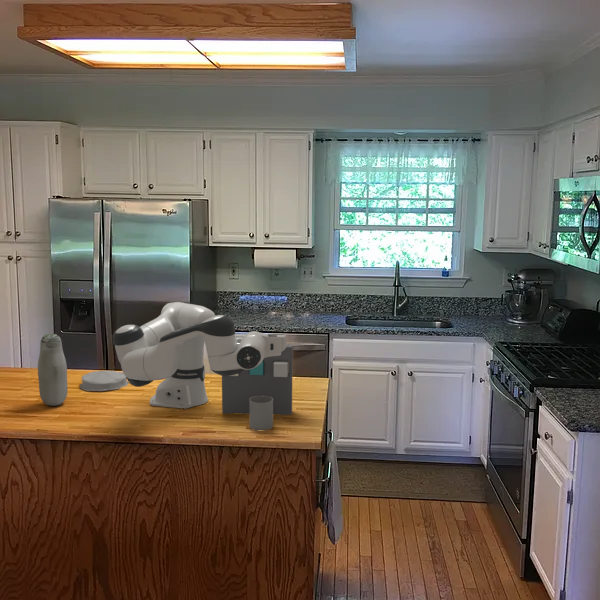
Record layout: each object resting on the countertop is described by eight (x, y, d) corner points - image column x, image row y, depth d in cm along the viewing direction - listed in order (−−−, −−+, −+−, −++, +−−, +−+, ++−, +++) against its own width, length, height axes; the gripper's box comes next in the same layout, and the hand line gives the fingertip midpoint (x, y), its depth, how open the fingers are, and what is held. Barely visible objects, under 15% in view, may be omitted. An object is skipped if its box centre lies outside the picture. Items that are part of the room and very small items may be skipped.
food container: (92, 378, 283) (91, 363, 282) (135, 379, 281) (134, 364, 279) (70, 393, 264) (69, 377, 262) (116, 394, 261) (115, 378, 260)
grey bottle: (35, 404, 246) (31, 334, 242) (60, 398, 254) (57, 329, 249) (47, 411, 240) (43, 338, 235) (73, 404, 247) (69, 334, 242)
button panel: (222, 413, 239) (221, 345, 235) (223, 409, 243) (223, 343, 239) (291, 414, 238) (292, 347, 234) (292, 411, 242) (292, 344, 238)
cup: (249, 422, 230) (249, 395, 229) (272, 421, 231) (272, 395, 229) (249, 431, 222) (249, 403, 220) (273, 430, 223) (273, 403, 221)
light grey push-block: (273, 376, 233) (273, 363, 232) (274, 372, 239) (274, 359, 238) (287, 377, 233) (287, 363, 232) (288, 372, 239) (288, 359, 238)
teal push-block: (249, 374, 235) (249, 361, 234) (251, 370, 241) (251, 357, 240) (263, 375, 235) (263, 361, 234) (264, 370, 241) (264, 357, 240)
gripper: (222, 354, 207) (228, 344, 220) (285, 355, 206) (287, 345, 219) (222, 335, 206) (228, 326, 219) (285, 336, 205) (288, 327, 218)
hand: (258, 336), depth 219 cm, fingers closed
